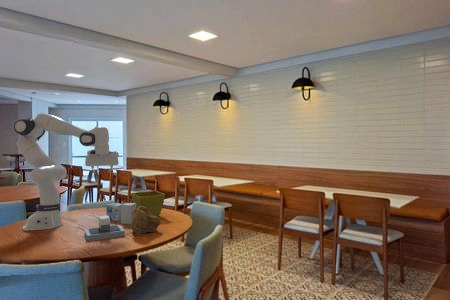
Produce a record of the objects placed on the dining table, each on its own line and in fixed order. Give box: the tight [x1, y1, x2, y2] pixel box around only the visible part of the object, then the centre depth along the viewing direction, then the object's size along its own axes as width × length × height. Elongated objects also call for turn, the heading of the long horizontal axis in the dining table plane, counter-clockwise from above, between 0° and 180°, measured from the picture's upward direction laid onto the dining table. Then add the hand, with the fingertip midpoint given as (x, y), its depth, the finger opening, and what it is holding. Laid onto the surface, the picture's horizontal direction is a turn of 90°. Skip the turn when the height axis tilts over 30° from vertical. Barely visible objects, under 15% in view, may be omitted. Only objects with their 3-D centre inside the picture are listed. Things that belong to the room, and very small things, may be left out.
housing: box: [98, 214, 111, 231], centre depth 188 cm, size 5×8×7 cm, turn 29°
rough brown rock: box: [130, 206, 161, 235], centre depth 196 cm, size 23×17×15 cm
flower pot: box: [130, 190, 166, 218], centre depth 234 cm, size 19×19×17 cm
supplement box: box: [121, 202, 136, 225], centre depth 217 cm, size 7×7×13 cm
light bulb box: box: [106, 202, 124, 222], centre depth 226 cm, size 11×7×11 cm, turn 68°
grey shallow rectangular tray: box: [84, 224, 126, 242], centre depth 188 cm, size 20×14×4 cm
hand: (102, 172), depth 211 cm, fingers open, 8 cm apart
